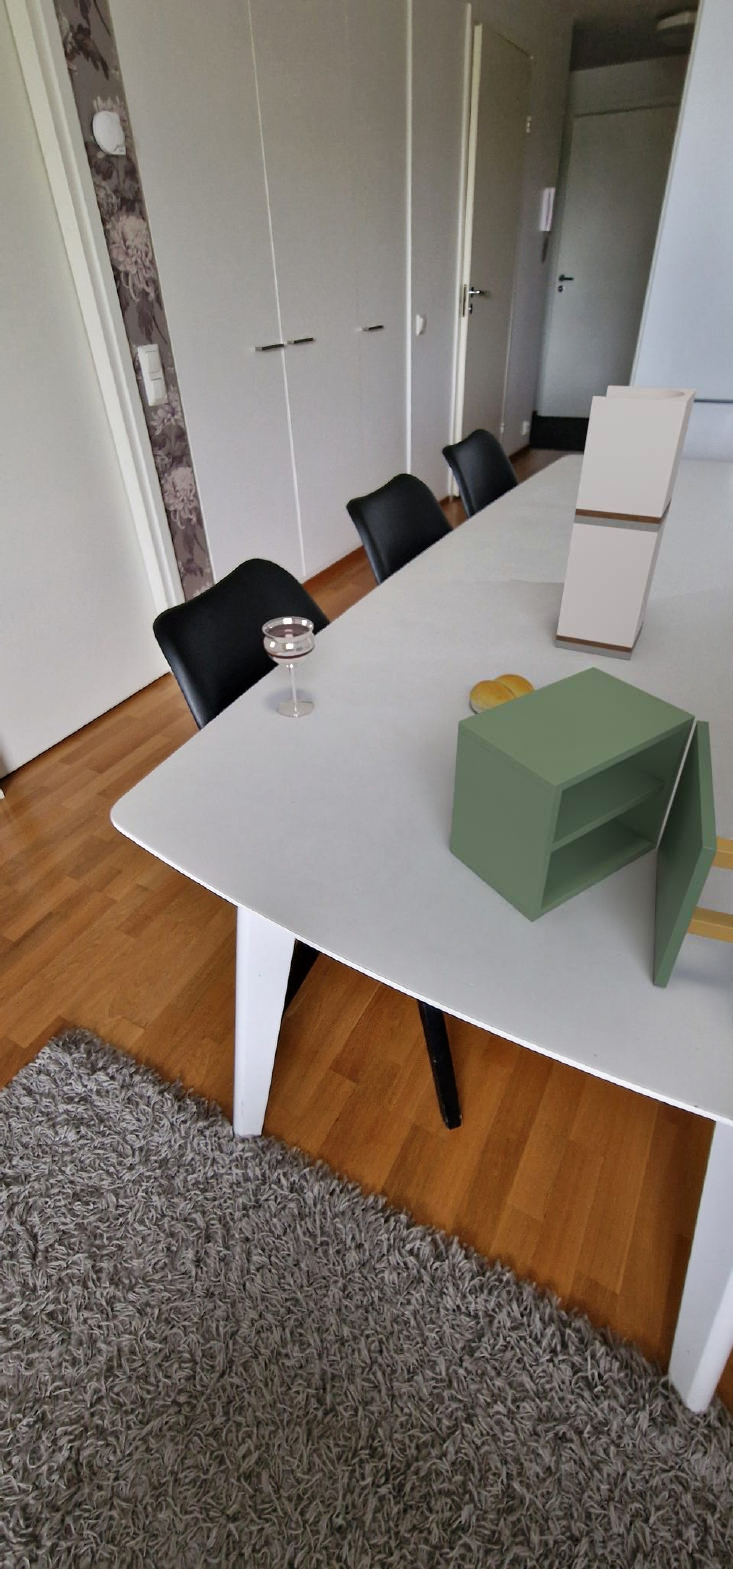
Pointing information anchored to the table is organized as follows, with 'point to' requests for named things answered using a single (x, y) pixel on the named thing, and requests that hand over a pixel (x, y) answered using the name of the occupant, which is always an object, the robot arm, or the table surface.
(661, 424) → the tall white column
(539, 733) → the cupboard
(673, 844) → the cupboard door
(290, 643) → the wineglass
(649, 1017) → the table surface
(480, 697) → the bread roll
